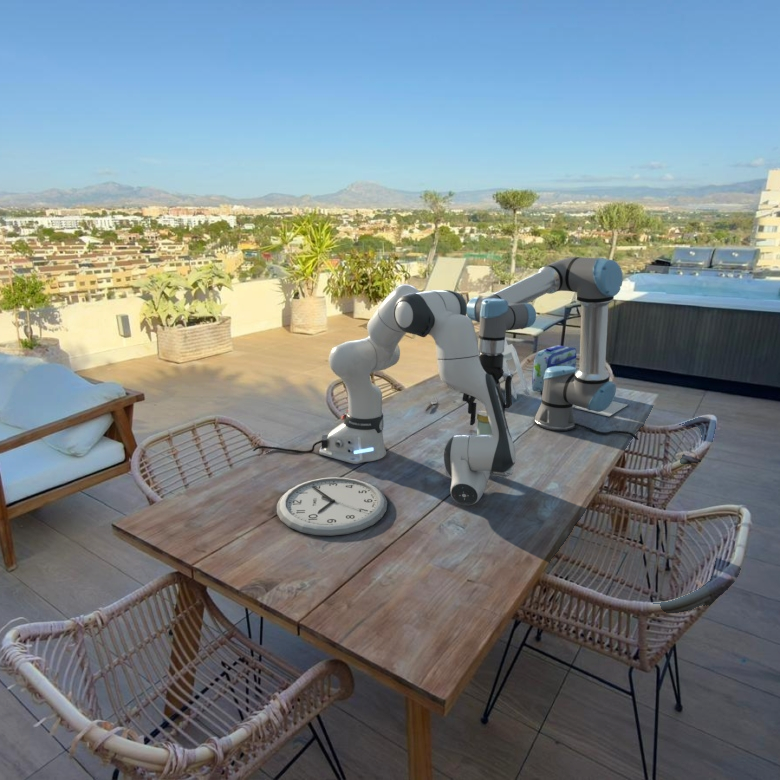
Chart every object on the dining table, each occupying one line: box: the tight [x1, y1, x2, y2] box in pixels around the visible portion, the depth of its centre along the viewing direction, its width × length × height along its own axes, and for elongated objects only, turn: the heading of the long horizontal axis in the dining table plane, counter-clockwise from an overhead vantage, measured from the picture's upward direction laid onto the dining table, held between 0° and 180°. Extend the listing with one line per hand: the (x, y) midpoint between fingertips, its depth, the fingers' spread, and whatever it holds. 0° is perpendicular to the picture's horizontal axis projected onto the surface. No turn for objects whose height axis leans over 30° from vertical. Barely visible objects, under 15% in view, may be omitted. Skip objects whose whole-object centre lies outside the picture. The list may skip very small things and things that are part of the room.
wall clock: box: [276, 476, 388, 537], centre depth 142 cm, size 30×2×30 cm
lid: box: [476, 410, 489, 422], centre depth 158 cm, size 5×5×2 cm
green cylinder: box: [476, 420, 492, 435], centre depth 161 cm, size 4×4×19 cm
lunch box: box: [531, 345, 577, 393], centre depth 245 cm, size 26×11×21 cm, turn 134°
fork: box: [425, 396, 439, 412], centre depth 222 cm, size 3×16×2 cm, turn 160°
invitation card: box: [573, 400, 629, 418], centre depth 226 cm, size 21×1×15 cm
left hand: (483, 451), depth 163 cm, fingers closed on green cylinder, 4 cm apart
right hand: (485, 426), depth 159 cm, fingers open, 7 cm apart
